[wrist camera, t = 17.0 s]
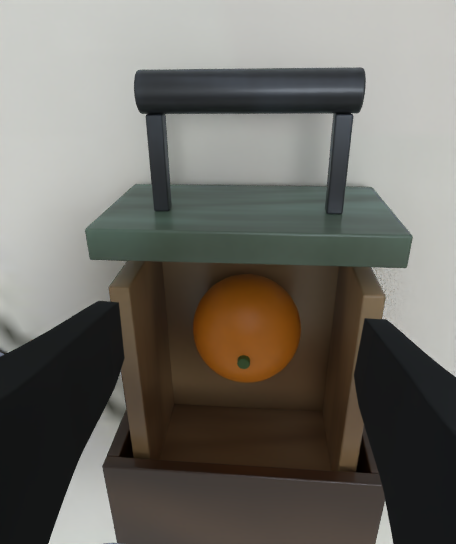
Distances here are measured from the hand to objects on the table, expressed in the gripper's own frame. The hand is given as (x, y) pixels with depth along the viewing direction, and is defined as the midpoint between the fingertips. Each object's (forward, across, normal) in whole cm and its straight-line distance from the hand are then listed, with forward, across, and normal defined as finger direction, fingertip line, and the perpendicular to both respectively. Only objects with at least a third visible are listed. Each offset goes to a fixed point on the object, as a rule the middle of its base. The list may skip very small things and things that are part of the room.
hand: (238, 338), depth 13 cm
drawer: (+9, 0, +2) cm, 9 cm away
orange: (+8, 0, +3) cm, 9 cm away
